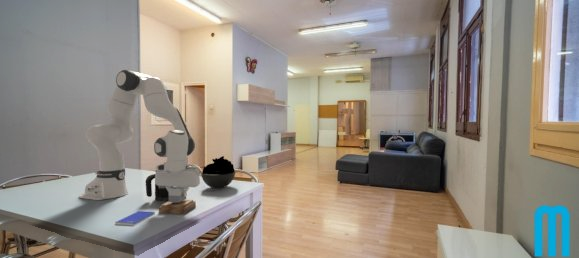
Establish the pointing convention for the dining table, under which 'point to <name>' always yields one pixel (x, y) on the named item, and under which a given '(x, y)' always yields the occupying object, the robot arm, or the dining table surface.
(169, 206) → the walnut stand
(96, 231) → the dining table surface
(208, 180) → the coal bowl
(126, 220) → the hard drive
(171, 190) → the block
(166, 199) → the milk frother
